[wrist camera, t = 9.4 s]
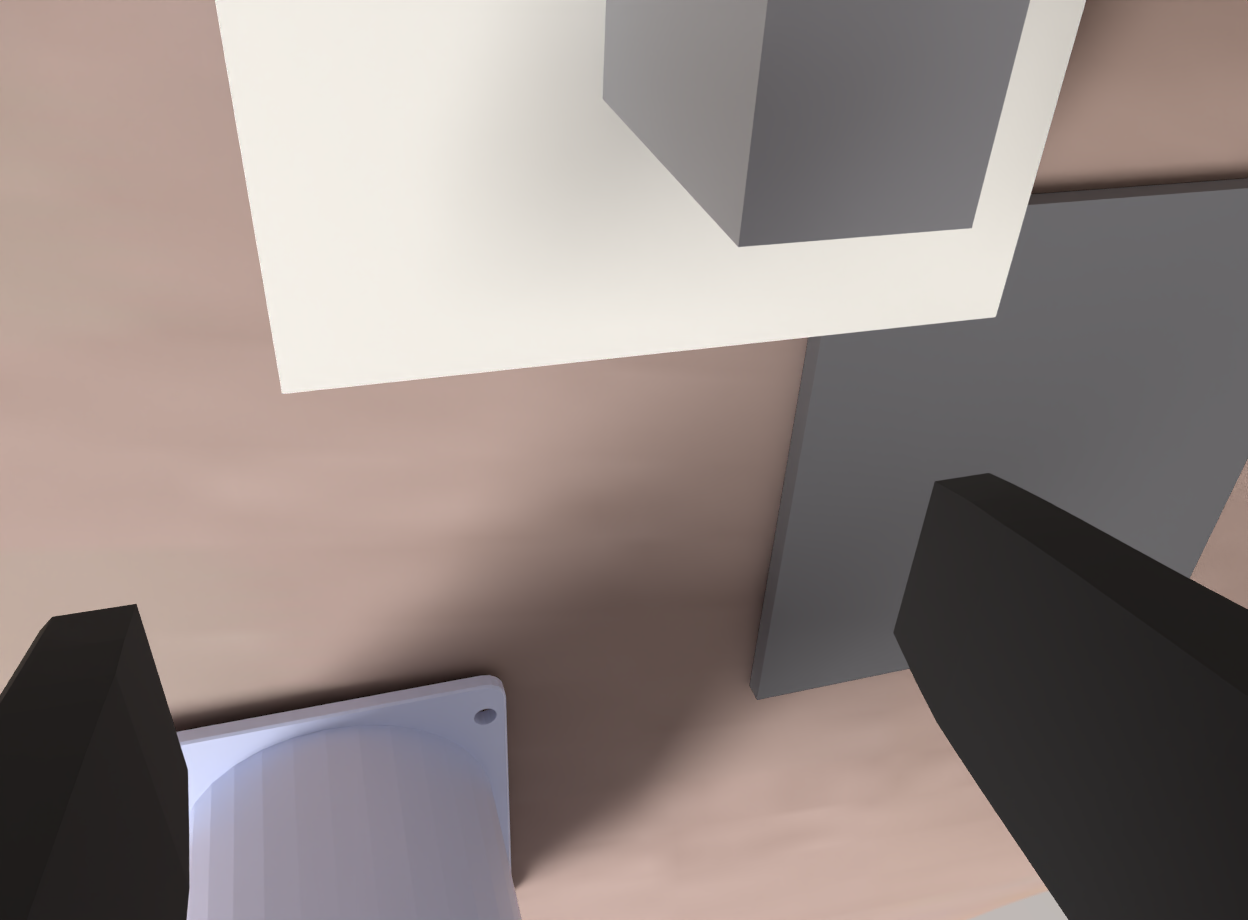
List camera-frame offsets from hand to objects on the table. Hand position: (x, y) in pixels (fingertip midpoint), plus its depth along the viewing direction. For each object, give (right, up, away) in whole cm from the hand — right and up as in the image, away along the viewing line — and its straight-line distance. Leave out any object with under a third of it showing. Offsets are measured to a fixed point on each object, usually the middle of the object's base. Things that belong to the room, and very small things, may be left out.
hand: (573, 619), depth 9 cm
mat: (+10, +2, +15) cm, 19 cm away
